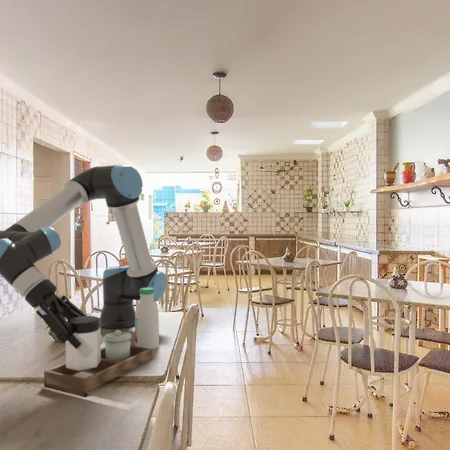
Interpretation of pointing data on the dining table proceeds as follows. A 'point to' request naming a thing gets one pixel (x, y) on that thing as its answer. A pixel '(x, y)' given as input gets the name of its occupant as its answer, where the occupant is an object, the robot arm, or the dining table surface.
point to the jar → (91, 335)
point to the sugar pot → (117, 346)
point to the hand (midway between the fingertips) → (96, 348)
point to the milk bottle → (147, 321)
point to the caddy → (94, 372)
